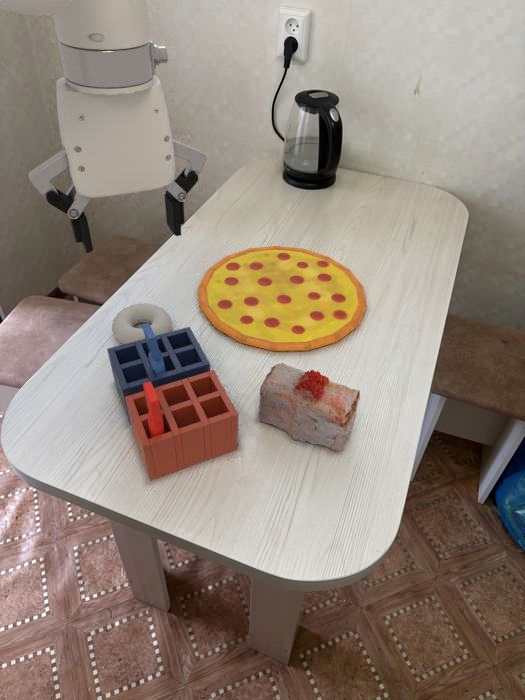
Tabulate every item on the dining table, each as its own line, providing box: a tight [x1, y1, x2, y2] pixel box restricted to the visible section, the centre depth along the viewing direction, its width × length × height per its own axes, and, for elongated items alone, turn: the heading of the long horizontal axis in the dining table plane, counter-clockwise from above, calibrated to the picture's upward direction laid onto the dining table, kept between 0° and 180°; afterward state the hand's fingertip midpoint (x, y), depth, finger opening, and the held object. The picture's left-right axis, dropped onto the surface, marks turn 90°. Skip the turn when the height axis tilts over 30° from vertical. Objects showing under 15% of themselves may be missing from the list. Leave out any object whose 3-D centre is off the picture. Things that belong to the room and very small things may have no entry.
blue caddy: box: [107, 326, 211, 427], centre depth 75 cm, size 13×9×8 cm
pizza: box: [197, 245, 368, 352], centre depth 96 cm, size 32×32×1 cm
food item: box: [258, 362, 361, 453], centre depth 71 cm, size 14×8×10 cm, turn 66°
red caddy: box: [125, 369, 239, 482], centre depth 69 cm, size 13×9×8 cm
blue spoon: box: [141, 322, 166, 375], centre depth 71 cm, size 2×3×14 cm, turn 25°
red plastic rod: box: [143, 381, 165, 438], centre depth 64 cm, size 2×3×14 cm, turn 26°
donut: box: [111, 303, 173, 345], centre depth 86 cm, size 10×4×10 cm
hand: (131, 237), depth 55 cm, fingers open, 9 cm apart
